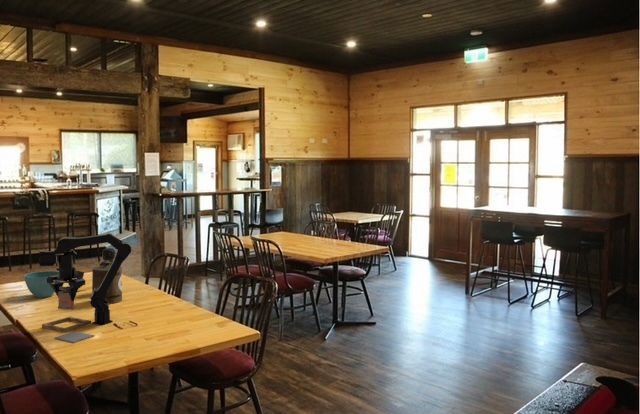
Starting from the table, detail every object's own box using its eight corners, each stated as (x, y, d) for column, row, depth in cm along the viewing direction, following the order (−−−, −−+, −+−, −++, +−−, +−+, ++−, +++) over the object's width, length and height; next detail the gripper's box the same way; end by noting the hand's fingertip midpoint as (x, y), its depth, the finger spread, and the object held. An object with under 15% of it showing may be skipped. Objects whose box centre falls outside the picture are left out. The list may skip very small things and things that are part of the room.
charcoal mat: (94, 336, 232) (94, 335, 232) (74, 343, 223) (74, 341, 223) (74, 332, 237) (74, 331, 237) (54, 338, 228) (54, 337, 228)
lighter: (76, 308, 246) (76, 286, 246) (71, 310, 243) (70, 288, 242) (61, 306, 248) (61, 285, 248) (56, 308, 245) (55, 286, 244)
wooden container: (127, 301, 292) (126, 260, 291) (100, 306, 281) (99, 263, 280) (113, 296, 302) (113, 257, 301) (87, 301, 291) (86, 260, 290)
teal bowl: (51, 300, 292) (50, 277, 291) (17, 299, 292) (17, 277, 291) (67, 292, 310) (67, 271, 309) (36, 292, 311) (35, 270, 310)
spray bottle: (113, 289, 319) (112, 246, 317) (122, 292, 313) (121, 248, 311) (96, 292, 311) (95, 248, 309) (105, 295, 305) (104, 250, 303)
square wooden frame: (91, 324, 250) (91, 320, 249) (64, 332, 237) (64, 329, 237) (69, 319, 256) (69, 316, 256) (42, 327, 243) (41, 324, 243)
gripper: (95, 264, 247) (95, 298, 249) (66, 260, 256) (67, 293, 257) (74, 268, 237) (74, 303, 239) (45, 264, 246) (46, 298, 247)
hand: (66, 299), depth 245 cm, fingers closed on lighter, 8 cm apart
